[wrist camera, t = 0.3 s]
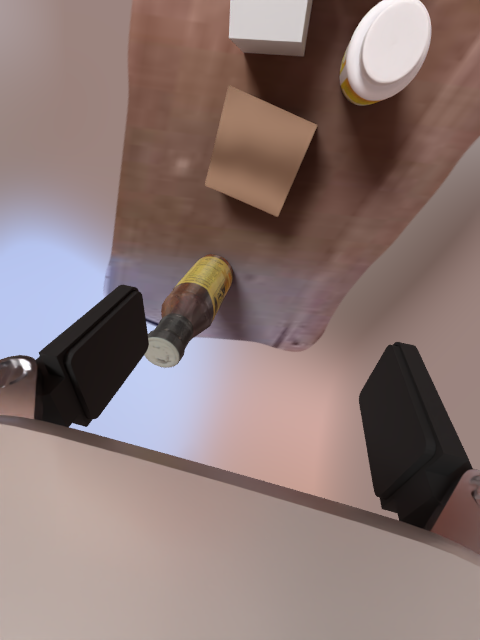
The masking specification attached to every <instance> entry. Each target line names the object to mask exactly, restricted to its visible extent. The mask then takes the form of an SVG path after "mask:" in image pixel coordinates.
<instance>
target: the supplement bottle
mask: <svg viewBox="0 0 480 640" xmlns="http://www.w3.org/2000/svg"><path fill="white" fill-rule="evenodd" d="M430 40H431V21H430V17H429V14H428V11H427V10H426V8H425V6H424V5H423V4H422V2H421V1H419V0H383V1H381V2H379V3H378V4H377V5H375V6H374V7H373V8H372V9H371V10H370V11H369V12H368V13H367V14H366V15H365V16H364V18H363V19H362V20H361V22H360V23H359V25H358V26H357V28H356V30H355V32H354V34H353V36H352V38H351V40H350V43H349V45H348V47H347V49H346V52H345V54H344V57H343V59H342V63H341V67H340V75H339V79H340V86H341V90H342V92H343V94H344V96H345V97H346V98H347V99H348V100H349V101H350V102H351V103H353V104H355V105H360V106H365V105H370V104H373V103H376V102H379V101H382V100H384V99H387V98H390V97H392V96H394V95H395V94H397V93H398V92H400V91H401V90H402V89H404V88H405V87H406V86H407V85H408V84H409V83H410V82H411V81H412V80H413V78H414V77H415V76H416V74H417V73H418V71H419V70H420V68H421V66H422V64H423V62H424V60H425V58H426V55H427V52H428V49H429V45H430Z"/></svg>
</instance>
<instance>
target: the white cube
mask: <svg viewBox="0 0 480 640" xmlns="http://www.w3.org/2000/svg"><path fill="white" fill-rule="evenodd" d="M312 1H313V0H231V1H230V28H229V38H230V39H231V40H232V41H233V42H234V43H235V44H236V45H237V46H238V47H239V48H240V49H241V50H242V51H243V52H244V53H257V54H272V55H288V56H303V57H304V52H305V46H306V39H307V33H308V27H309V20H310V14H311V8H312Z"/></svg>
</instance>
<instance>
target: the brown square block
mask: <svg viewBox="0 0 480 640" xmlns="http://www.w3.org/2000/svg"><path fill="white" fill-rule="evenodd" d="M316 128H317V125H316V124H314V123H312V122H310V121H307V120H305V119H303V118H301V117H298V116H296V115H294V114H292V113H290V112H287V111H285V110H283V109H281V108H279V107H276V106H274V105H272V104H270V103H268V102H265V101H263V100H261V99H259V98H257V97H254V96H252V95H250V94H248V93H246V92H243V91H241V90H239V89H237V88H234V87H232V86H230V85H229V86H228V90H227V94H226V98H225V102H224V107H223V111H222V115H221V119H220V123H219V128H218V132H217V136H216V140H215V144H214V149H213V153H212V157H211V161H210V165H209V170H208V174H207V178H206V182H205V185H206V186H208V187H210V188H213V189H215V190H217V191H219V192H222V193H224V194H226V195H229V196H231V197H233V198H235V199H238V200H240V201H242V202H245V203H247V204H249V205H251V206H254V207H256V208H258V209H260V210H263V211H265V212H267V213H270V214H272V215H274V216H276V217H278V215H279V213H280V211H281V209H282V206H283V204H284V202H285V199H286V197H287V195H288V192H289V190H290V188H291V185H292V183H293V181H294V178H295V176H296V174H297V172H298V169H299V167H300V165H301V162H302V160H303V158H304V155H305V153H306V151H307V148H308V146H309V144H310V141H311V139H312V137H313V134H314V132H315V130H316Z"/></svg>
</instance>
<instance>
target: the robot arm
mask: <svg viewBox="0 0 480 640" xmlns="http://www.w3.org/2000/svg"><path fill="white" fill-rule="evenodd" d="M148 346H149V341H148V333H147V326H146V319H145V312H144V305H143V298H142V294H141V292H139V291H138V289H137V288H136V287H131V286H126V285H120V286H118V287H117V288H116V289H115V290H114V291H112V292H111V293H110V294H109V295H107V296H106V297H105V298H104V299H103V300H101V301H100V302H99V303H98V304H97V305H95V306H94V307H93V308H92V309H91V310H89V311H88V312H87V313H86V314H85V315H83V316H82V317H81V318H80V319H79V320H77V321H76V322H75V323H74V324H73V325H71V326H70V327H69V328H68V329H66V330H65V331H64V332H63V333H62V334H60V335H59V336H58V337H57V338H56V339H54V340H53V341H52V342H51V343H50V344H48V345H47V346H46V347H45V348H44V349H43V350H41V351H40V352H39V354H40V357H39V358H38V359H36V360H35V359H34V358H32V357H29V356H22V355H18V356H11V357H7V358H4V359H1V360H0V640H480V470H477V469H473V468H472V466H471V464H470V462H469V459H468V457H467V455H466V452H465V450H464V448H463V446H462V444H461V442H460V440H459V437H458V435H457V433H456V431H455V429H454V427H453V425H452V422H451V421H450V418H449V416H448V414H447V412H446V410H445V408H444V405H443V403H442V401H441V399H440V397H439V395H438V392H437V390H436V388H435V386H434V384H433V382H432V380H431V377H430V375H429V373H428V371H427V369H426V367H425V365H424V362H423V360H422V358H421V356H420V354H419V352H418V350H417V348H416V346H414V345H410V344H404V343H400V342H395V343H394V344H393V345H388V347H387V348H386V349H385V352H384V353H383V355H382V356H381V358H380V360H379V362H378V363H377V365H376V367H375V368H374V370H373V372H372V374H371V375H370V377H369V379H368V380H367V382H366V384H365V386H364V387H363V389H362V391H361V393H360V396H359V404H360V410H361V416H362V422H363V428H364V434H365V439H366V446H367V452H368V458H369V464H370V470H371V476H372V482H373V487H374V492H375V495H376V496H377V497H380V501H381V507H382V509H384V510H388V511H391V512H395V513H398V517H399V521H398V520H395V519H392V518H388V517H384V516H382V515H378V514H375V513H372V512H369V511H365V510H362V509H359V508H355V507H352V506H349V505H345V504H342V503H339V502H335V501H331V500H328V499H325V498H321V497H317V496H314V495H311V494H307V493H303V492H300V491H296V490H293V489H289V488H286V487H282V486H279V485H275V484H272V483H268V482H265V481H261V480H258V479H254V478H251V477H247V476H244V475H240V474H236V473H233V472H229V471H226V470H222V469H219V468H215V467H212V466H207V465H204V464H201V463H197V462H193V461H190V460H186V459H182V458H179V457H176V456H172V455H169V454H165V453H161V452H158V451H154V450H150V449H147V448H143V447H139V446H135V445H132V444H128V443H125V442H121V441H117V440H114V439H110V438H107V437H102V436H99V435H96V434H92V433H88V432H84V431H80V430H76V429H72V428H69V426H70V425H71V424H72V422H73V423H75V424H78V425H82V426H85V427H87V426H88V425H89V423H90V422H91V421H92V419H96V418H98V417H99V415H100V414H101V413H102V411H103V410H104V409H105V407H106V406H107V405H108V403H109V402H110V400H111V399H112V398H113V396H114V395H115V394H116V392H117V391H118V390H119V388H120V387H121V386H122V384H123V383H124V381H125V380H126V379H127V377H128V376H129V375H130V373H131V372H132V371H133V369H134V368H135V367H136V365H137V363H138V362H139V361H140V360H141V358H142V357H143V356H144V354H145V353H146V351H147V350H148Z"/></svg>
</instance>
